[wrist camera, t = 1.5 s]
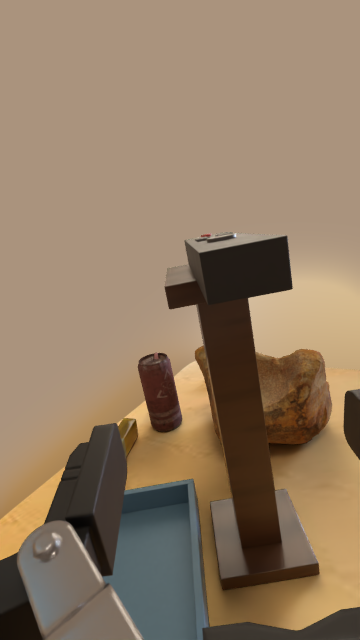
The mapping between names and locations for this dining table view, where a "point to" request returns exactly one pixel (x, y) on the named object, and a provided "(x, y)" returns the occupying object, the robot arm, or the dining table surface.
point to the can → (160, 392)
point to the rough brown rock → (287, 395)
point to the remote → (239, 265)
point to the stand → (243, 450)
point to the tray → (162, 562)
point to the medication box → (128, 433)
